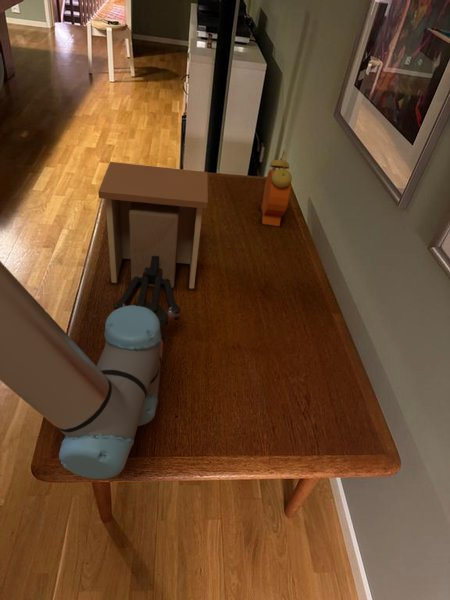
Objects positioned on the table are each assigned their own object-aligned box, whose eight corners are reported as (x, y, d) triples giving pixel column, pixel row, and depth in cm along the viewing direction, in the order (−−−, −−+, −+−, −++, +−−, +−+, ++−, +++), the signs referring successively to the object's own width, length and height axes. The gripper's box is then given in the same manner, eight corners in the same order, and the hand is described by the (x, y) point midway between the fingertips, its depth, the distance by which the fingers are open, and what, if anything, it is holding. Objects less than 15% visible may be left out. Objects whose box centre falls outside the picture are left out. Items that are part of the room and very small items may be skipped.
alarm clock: (281, 229, 122) (298, 166, 108) (261, 226, 121) (276, 163, 108) (278, 207, 131) (293, 147, 118) (259, 204, 131) (273, 144, 117)
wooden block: (131, 285, 94) (128, 211, 81) (136, 259, 101) (135, 187, 88) (173, 289, 95) (178, 216, 82) (176, 263, 103) (180, 192, 89)
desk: (197, 294, 95) (208, 202, 79) (106, 287, 93) (98, 191, 76) (197, 260, 105) (207, 172, 88) (115, 253, 102) (110, 161, 86)
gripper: (106, 352, 74) (126, 271, 91) (177, 356, 75) (183, 276, 92) (103, 324, 69) (124, 244, 86) (180, 329, 70) (185, 249, 87)
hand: (155, 261), depth 89 cm, fingers closed
